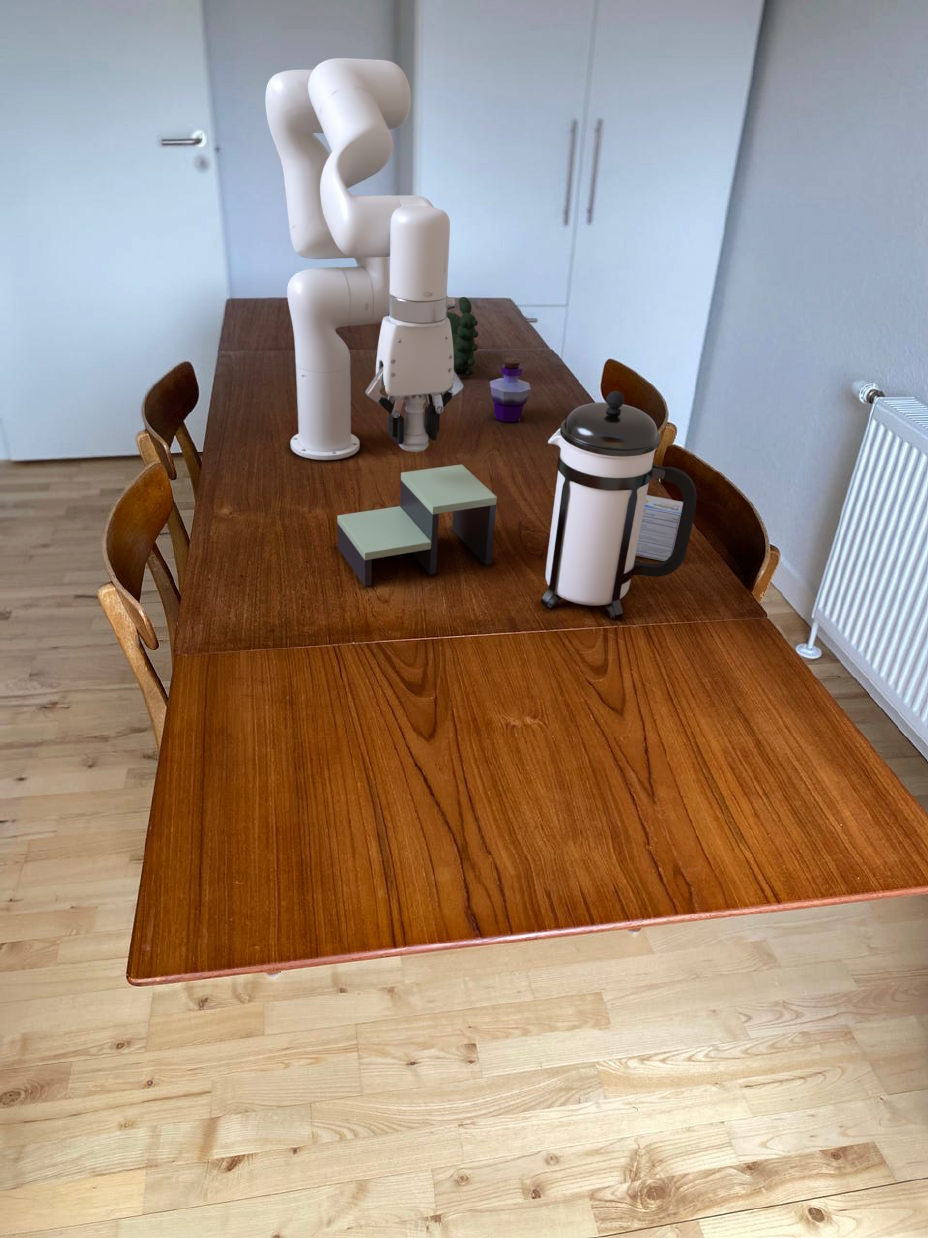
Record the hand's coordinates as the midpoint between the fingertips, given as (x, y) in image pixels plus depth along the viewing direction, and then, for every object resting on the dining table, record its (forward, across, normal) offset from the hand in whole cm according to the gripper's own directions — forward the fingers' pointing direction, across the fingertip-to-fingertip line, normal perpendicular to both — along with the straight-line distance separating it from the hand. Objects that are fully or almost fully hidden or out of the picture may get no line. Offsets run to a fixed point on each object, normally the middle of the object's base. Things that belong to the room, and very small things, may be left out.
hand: (413, 437), depth 132 cm
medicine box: (+18, -34, +14) cm, 41 cm away
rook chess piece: (+2, 0, 0) cm, 2 cm away
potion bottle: (+18, -39, -44) cm, 61 cm away
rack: (+17, +1, +3) cm, 18 cm away
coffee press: (+18, -20, +22) cm, 34 cm away
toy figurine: (+18, -40, -76) cm, 88 cm away
